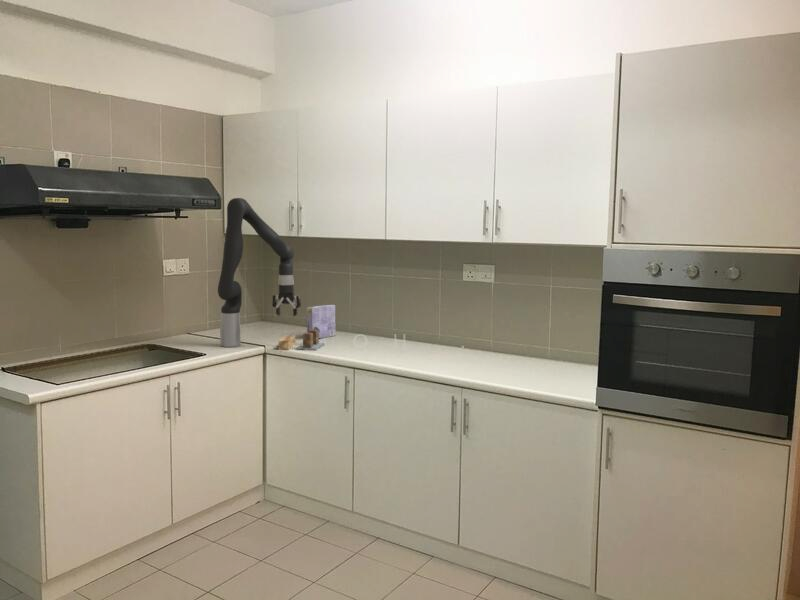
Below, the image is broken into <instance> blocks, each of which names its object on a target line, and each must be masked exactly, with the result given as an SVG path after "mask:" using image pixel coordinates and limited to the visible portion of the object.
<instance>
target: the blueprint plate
mask: <svg viewBox="0 0 800 600" xmlns="http://www.w3.org/2000/svg"><path fill="white" fill-rule="evenodd" d="M325 344H326V343H324V342H323V343H322V342H319V343H318V344H317V345H313V347H312V348H303V344H301V345H299V346H298V347H296V350H297V349H307V350H306V351H315V350H316V351H318V350H320V349H321V348H323V347H324V346H325ZM322 346H323V347H322ZM320 347H321V348H320ZM317 349H318V350H317Z"/></svg>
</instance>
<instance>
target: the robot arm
mask: <svg viewBox="0 0 800 600" xmlns="http://www.w3.org/2000/svg"><path fill="white" fill-rule="evenodd" d="M243 220H244V221H245V222H246V223H248V224H249V225H250V226H251V227H252V228H253V229H254V231H255V233H256V234H257V236H259V237H260V238H261V240H262V241H264V242H265V243H266V244H267V245H268V246H269V247H270V249H272V250H273V252H275V254H276V255H277V256H279V257H280V258H279V259H280V260H279V265H278V295H277V294H273V295H272V302H271V303H272V307H273V308H275V310H276V311H275V312H276V315H277V317H278V316H281V306H282V305H291V307H292V308H293V309H292V313H293V315H292V316H293V317H296V316H297V315H298V309H299V308H301V307H302V306H301V305H302V304H301V295H295V290H294V289H295V287H294V286H295V280H294V254H295V253H294V251H295V250H294V247H293V246H292V245H291V244H289V243H286V242H285V241H284V240H283V239H282V238H281V237H280V235H279V234H278V232H276V231H275V230H274V229H273V228H272V227H271V226H270V225H268V224H267V222H265V221H264V220H263V219H262V218H261V217H260V216H259V215H258V214H257V212H255V210H254V209H253V208H252V206H251V205H250V203H249V202H248V201H247V199H244V198H242V197H235V198H231V199H230V200H229V201H228V202H227V206H226V229H225V230H226V231H225V236H224V237H225V238H224V243H223V252H222V253H223V256H222V263H221V270H220V277H219V281H218V285H217V294H218V296H219V298H220V299H221V300H224V301H225V302H224V304H223V305H222V306H221V308H220V309H221V310H220V311H221V313H220V315H221V317H220V318H221V327H220V328H219V329H220V330H219V335H220V336H219V337H220V340H219V341H220V342H219V343H220V347H224V348H237V347H240V346H241V344H242V340H241V308H242V302H243V301H242V299H243V298H242V297H243V296H242V293H243V292H242V286H241V284H240V283H239V282H238V281H236V280H235V273H236V270H237V269H238V267H239V265H240V262H241V261H242V257H243V250H244V237H243V231H242V227H243V226H242V225H243ZM278 299H279V301H278ZM294 299H295V300H296V302H295V300H294Z"/></svg>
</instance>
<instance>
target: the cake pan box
mask: <svg viewBox="0 0 800 600" xmlns="http://www.w3.org/2000/svg"><path fill="white" fill-rule="evenodd" d="M336 327H337V326H336V305H335V304H323V305H317V306H316V305H315V306H307V307H306V333H309V331H310V330H319V338H320V339H325V337H326V338H330V336H331V337H335V335H336Z"/></svg>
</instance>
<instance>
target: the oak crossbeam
mask: <svg viewBox="0 0 800 600" xmlns="http://www.w3.org/2000/svg"><path fill="white" fill-rule="evenodd" d="M293 345H294V346H295V345H296V335H295V334H294V335H293V334H292V335H291V334H290V335H289V334H288V335H287V334H286V335H284V336H283V337H281V338H280V339H279V340H278V350H279V351H290V350H291V349H292V348H293V347H294V346H293ZM292 346H293V347H292ZM291 347H292V348H291ZM290 348H291V349H290ZM289 349H290V350H289Z"/></svg>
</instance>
